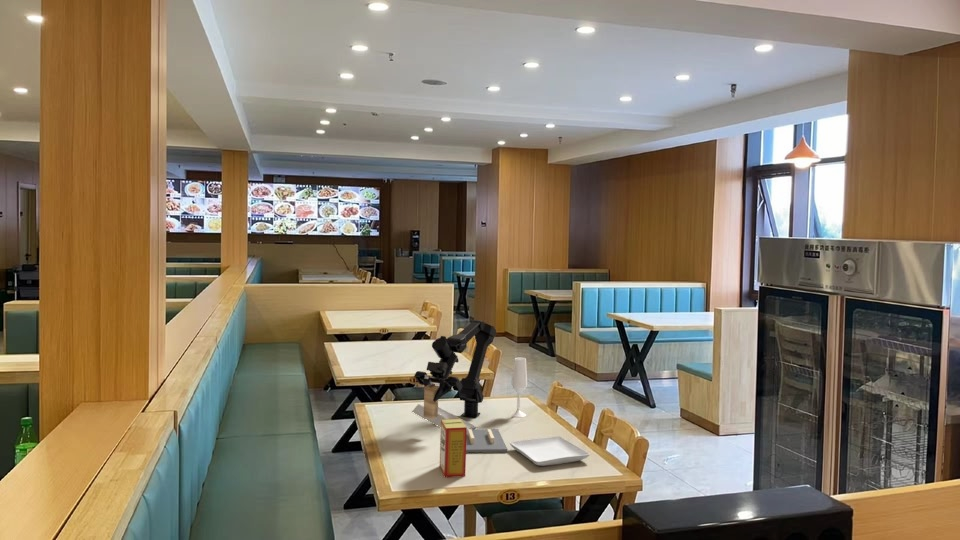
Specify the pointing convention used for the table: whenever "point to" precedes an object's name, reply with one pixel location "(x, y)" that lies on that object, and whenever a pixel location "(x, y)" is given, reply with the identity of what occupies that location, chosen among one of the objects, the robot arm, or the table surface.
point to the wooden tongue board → (430, 401)
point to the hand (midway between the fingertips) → (429, 400)
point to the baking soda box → (453, 447)
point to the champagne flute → (519, 382)
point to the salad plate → (549, 450)
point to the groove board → (485, 441)
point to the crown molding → (439, 416)
